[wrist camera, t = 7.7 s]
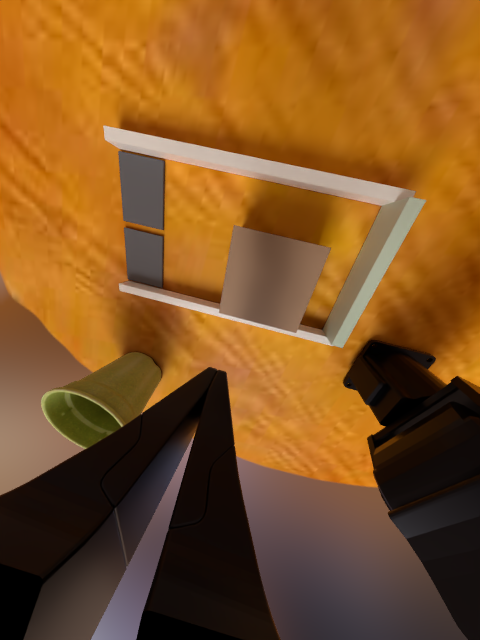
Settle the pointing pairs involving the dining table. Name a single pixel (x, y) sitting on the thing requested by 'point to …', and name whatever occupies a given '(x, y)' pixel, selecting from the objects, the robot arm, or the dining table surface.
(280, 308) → the walnut block
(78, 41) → the dining table surface
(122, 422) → the plant pot
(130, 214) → the pads
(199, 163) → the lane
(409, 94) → the dining table surface
